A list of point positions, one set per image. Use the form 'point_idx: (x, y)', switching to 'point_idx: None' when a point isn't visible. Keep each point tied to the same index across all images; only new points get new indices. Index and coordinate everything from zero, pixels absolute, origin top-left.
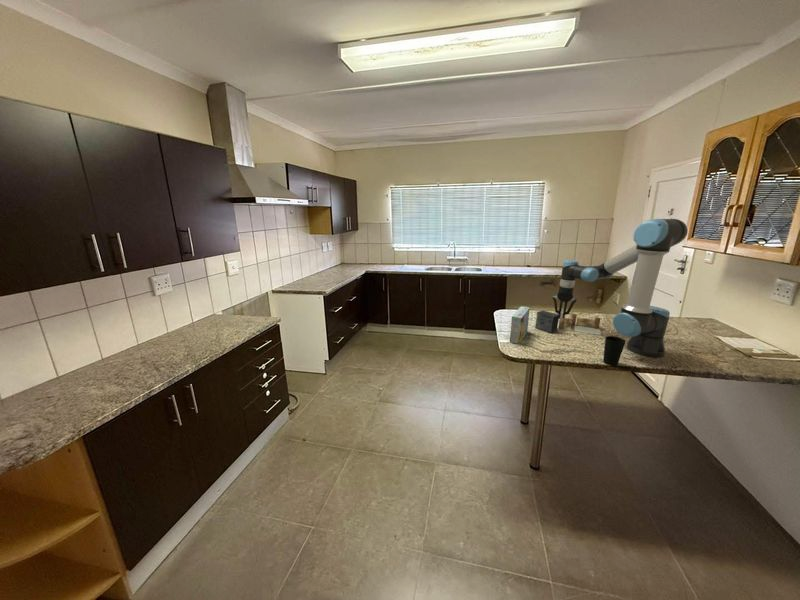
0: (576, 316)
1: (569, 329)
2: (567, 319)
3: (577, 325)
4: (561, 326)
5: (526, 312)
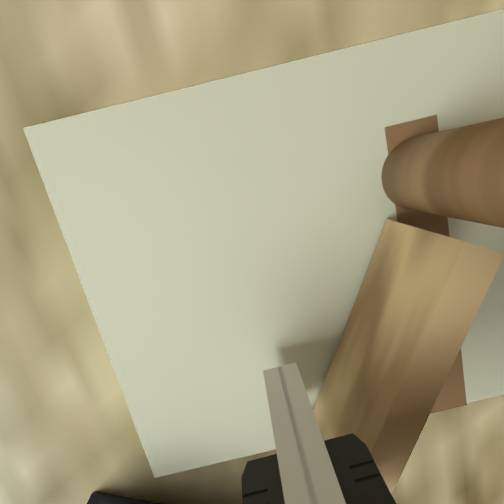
0: None
1: None
2: (417, 423)
3: None
4: None
5: None
